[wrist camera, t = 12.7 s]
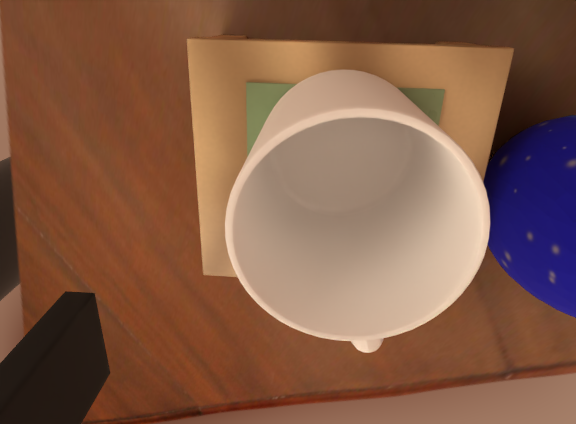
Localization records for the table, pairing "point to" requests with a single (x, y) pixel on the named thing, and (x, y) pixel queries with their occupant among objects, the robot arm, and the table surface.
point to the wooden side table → (308, 62)
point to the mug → (355, 212)
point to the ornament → (537, 210)
